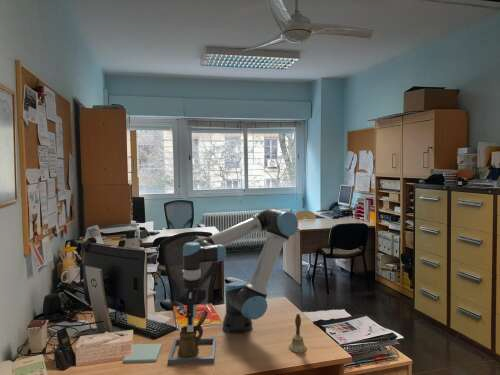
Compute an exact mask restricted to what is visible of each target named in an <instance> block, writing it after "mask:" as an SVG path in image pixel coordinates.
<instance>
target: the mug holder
mask: <svg viewBox="0 0 500 375" xmlns="http://www.w3.org/2000/svg"><path fill="white" fill-rule="evenodd" d="M179 343H180V337H179V338H174V339H173V342H172V345H171V349H170V351H169V355H168V356H167V357H168V358H167V365H189V364H190V365H192V364H196V365H197V364H215V357H216V356H215V355H216V346H217V337H201V339H200V340H199V343H198V344H212V346H211V347H212V348H211V356H209V357H208V356H206V357H205V356H203V357H190V358H183V357H174V354H175V351H176V348H177V345H179Z"/></svg>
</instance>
